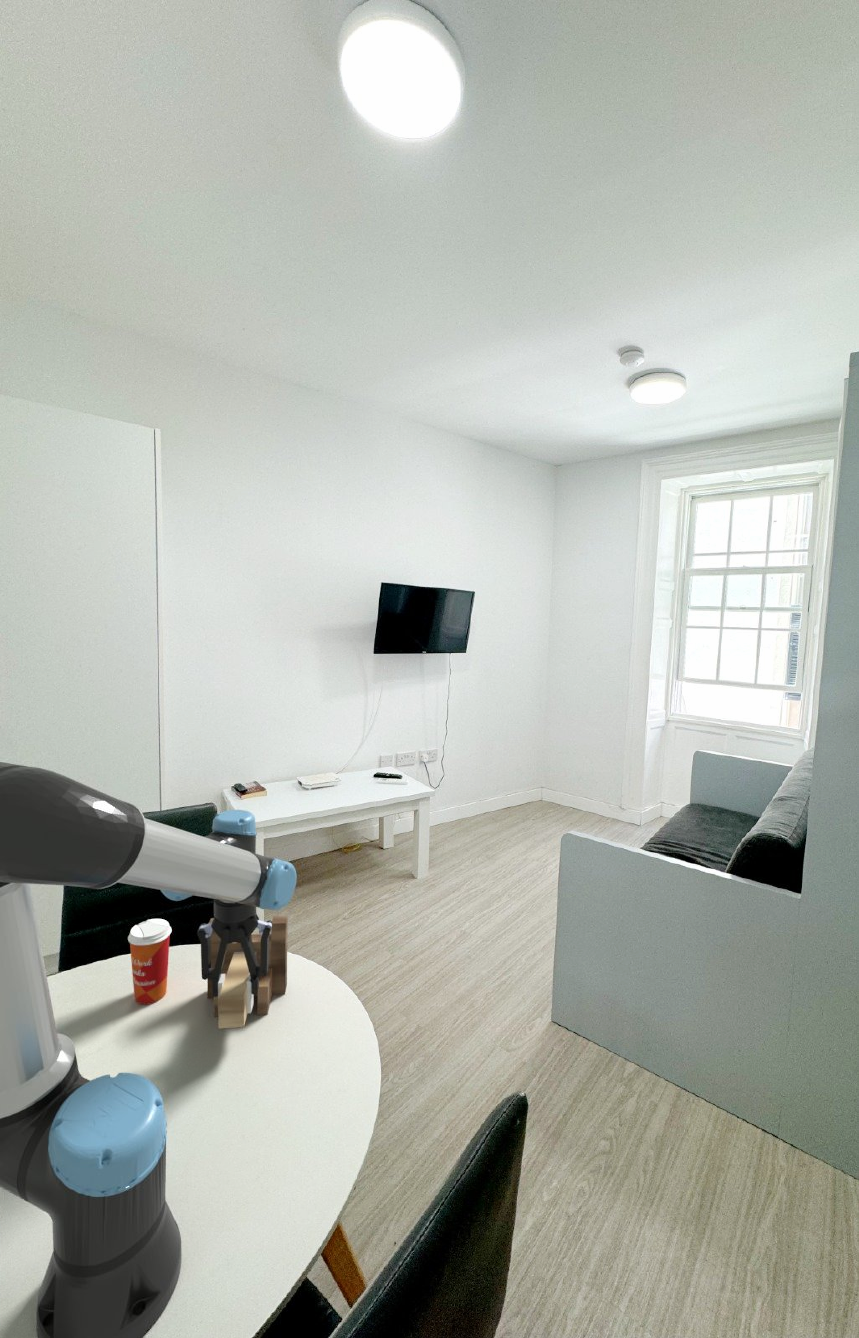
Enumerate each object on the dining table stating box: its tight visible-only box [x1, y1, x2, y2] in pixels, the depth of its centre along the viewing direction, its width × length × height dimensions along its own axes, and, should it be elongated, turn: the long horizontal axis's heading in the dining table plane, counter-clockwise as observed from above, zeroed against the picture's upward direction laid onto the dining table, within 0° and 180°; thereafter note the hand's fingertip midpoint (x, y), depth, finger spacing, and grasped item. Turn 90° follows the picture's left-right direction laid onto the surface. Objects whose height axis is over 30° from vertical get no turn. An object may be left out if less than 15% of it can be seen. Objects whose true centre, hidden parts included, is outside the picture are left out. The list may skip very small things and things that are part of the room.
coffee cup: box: [127, 918, 173, 1005], centre depth 119 cm, size 8×8×15 cm
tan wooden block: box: [218, 951, 257, 1029], centre depth 110 cm, size 14×4×6 cm, turn 8°
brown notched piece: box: [206, 915, 288, 1018], centre depth 118 cm, size 9×16×16 cm, turn 98°
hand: (236, 1008), depth 108 cm, fingers closed on tan wooden block, 4 cm apart
